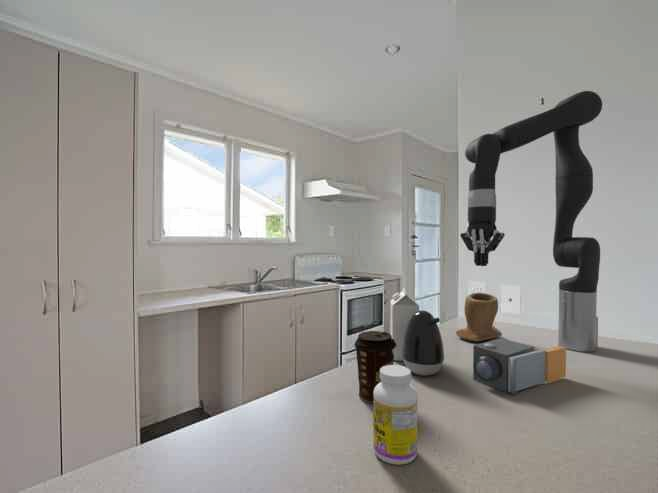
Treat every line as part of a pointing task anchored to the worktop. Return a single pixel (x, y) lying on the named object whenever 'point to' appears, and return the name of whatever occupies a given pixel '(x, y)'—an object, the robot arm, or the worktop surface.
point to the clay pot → (480, 317)
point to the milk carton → (400, 319)
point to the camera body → (495, 361)
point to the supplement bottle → (395, 416)
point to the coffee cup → (372, 360)
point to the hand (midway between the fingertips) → (481, 265)
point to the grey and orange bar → (536, 368)
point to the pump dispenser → (423, 344)
